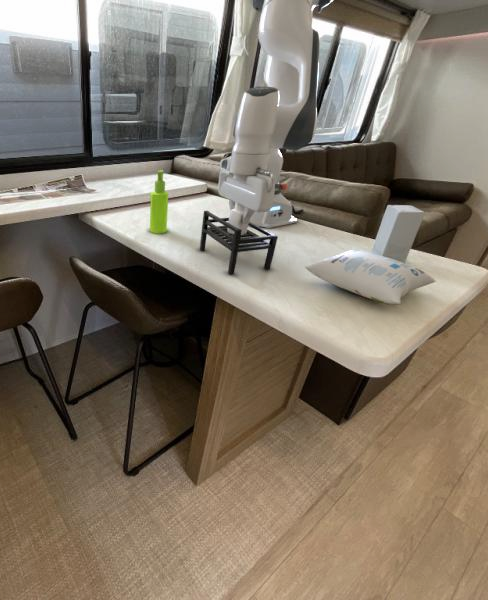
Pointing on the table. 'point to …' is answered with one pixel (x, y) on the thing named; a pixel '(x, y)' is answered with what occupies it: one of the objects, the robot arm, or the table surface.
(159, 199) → the soap dispenser
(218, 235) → the rack
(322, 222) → the table surface
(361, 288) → the pouch
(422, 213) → the cosmetic box
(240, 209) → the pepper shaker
